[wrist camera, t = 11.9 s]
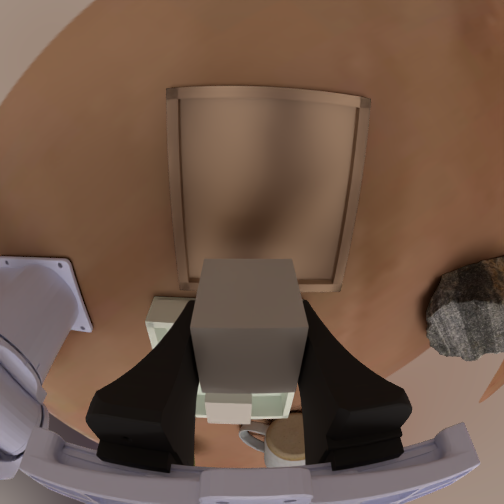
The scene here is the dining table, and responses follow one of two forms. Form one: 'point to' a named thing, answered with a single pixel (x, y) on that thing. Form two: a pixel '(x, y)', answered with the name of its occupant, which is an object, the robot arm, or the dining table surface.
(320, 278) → the wooden tray
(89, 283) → the dining table surface
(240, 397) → the stone
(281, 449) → the ceramic mug
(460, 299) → the rock
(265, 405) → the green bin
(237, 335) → the stone
